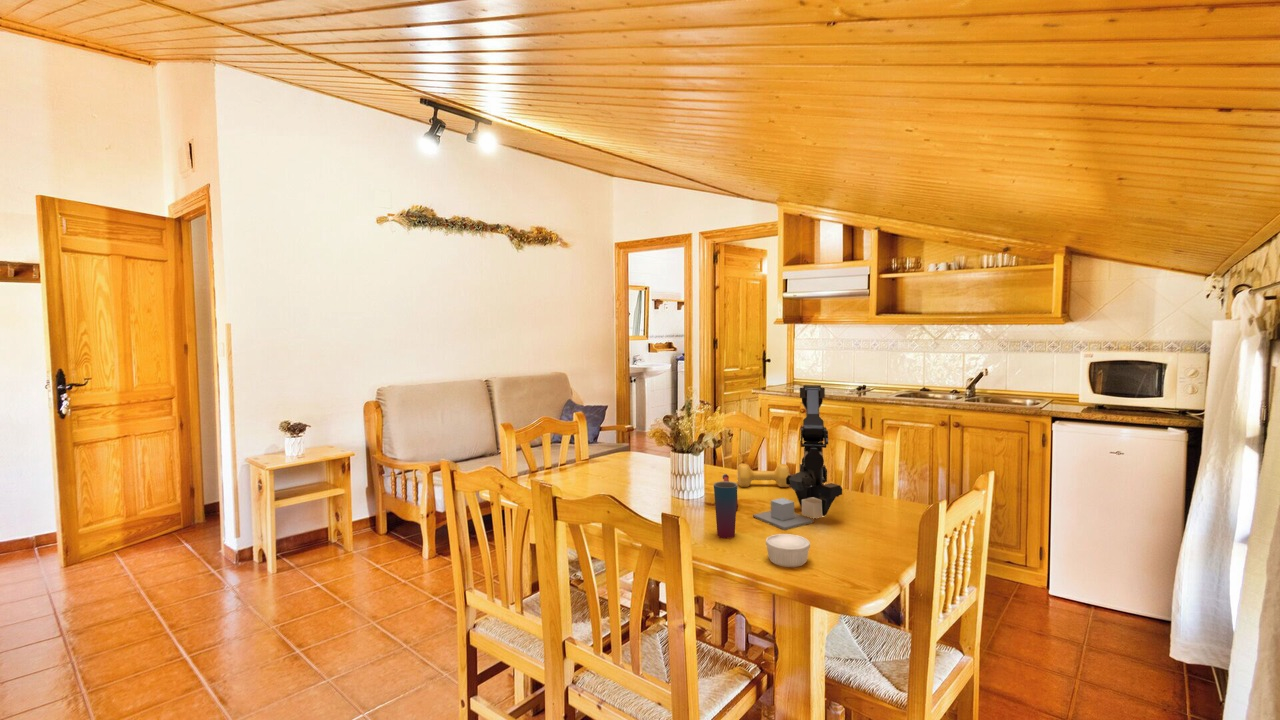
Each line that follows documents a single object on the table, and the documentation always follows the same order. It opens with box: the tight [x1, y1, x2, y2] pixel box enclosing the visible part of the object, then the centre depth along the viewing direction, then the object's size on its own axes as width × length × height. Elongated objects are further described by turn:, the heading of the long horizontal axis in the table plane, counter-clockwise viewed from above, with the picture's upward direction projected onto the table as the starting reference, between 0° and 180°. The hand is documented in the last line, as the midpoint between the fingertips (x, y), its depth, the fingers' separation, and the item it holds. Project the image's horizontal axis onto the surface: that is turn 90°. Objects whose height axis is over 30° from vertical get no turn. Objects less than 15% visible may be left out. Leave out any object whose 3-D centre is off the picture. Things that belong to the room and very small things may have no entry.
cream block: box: [801, 497, 823, 520], centre depth 193 cm, size 5×5×5 cm
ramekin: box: [765, 533, 811, 568], centre depth 158 cm, size 11×11×5 cm
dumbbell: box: [737, 463, 791, 488], centre depth 228 cm, size 19×9×8 cm, turn 84°
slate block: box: [770, 497, 795, 521], centre depth 189 cm, size 5×5×5 cm
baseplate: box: [752, 510, 815, 531], centre depth 189 cm, size 12×14×1 cm
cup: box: [713, 480, 739, 539], centre depth 176 cm, size 7×7×15 cm
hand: (813, 511), depth 193 cm, fingers open, 9 cm apart
